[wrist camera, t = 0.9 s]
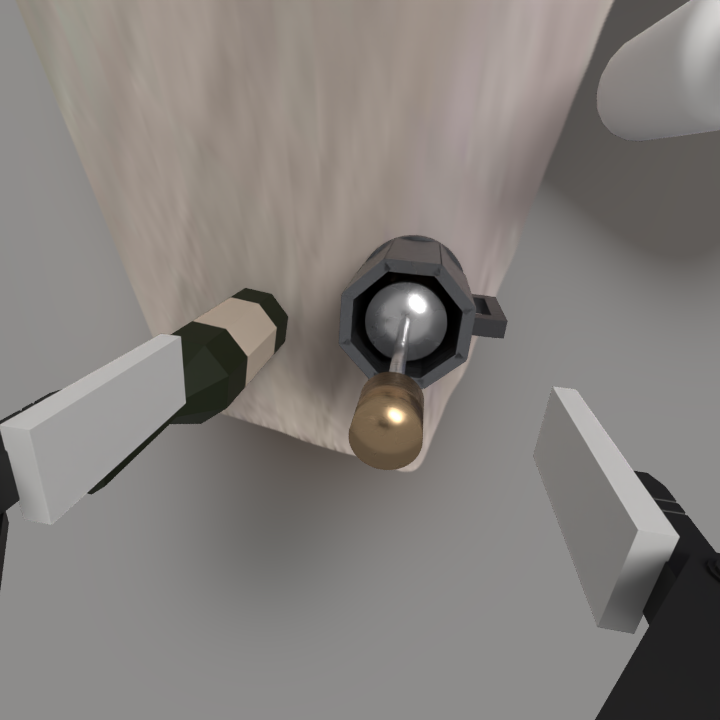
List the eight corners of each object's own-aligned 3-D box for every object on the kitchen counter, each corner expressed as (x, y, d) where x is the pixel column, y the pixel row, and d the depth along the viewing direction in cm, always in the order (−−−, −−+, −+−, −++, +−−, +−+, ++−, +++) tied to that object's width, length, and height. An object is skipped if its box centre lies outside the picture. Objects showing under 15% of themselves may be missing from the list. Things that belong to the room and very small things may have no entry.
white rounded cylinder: (622, 162, 41) (747, 157, 25) (574, 85, 40) (674, 24, 23) (715, 93, 38) (927, 36, 22) (667, 6, 37) (858, -127, 20)
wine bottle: (240, 273, 51) (21, 390, 24) (301, 314, 52) (157, 472, 25) (211, 329, 54) (-11, 487, 27) (269, 366, 55) (110, 556, 28)
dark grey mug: (363, 230, 47) (340, 249, 35) (501, 243, 46) (526, 268, 34) (355, 332, 52) (333, 380, 40) (480, 347, 50) (495, 402, 38)
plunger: (369, 276, 38) (317, 364, 20) (452, 285, 37) (470, 384, 20) (363, 352, 40) (312, 485, 23) (440, 361, 40) (446, 507, 23)
